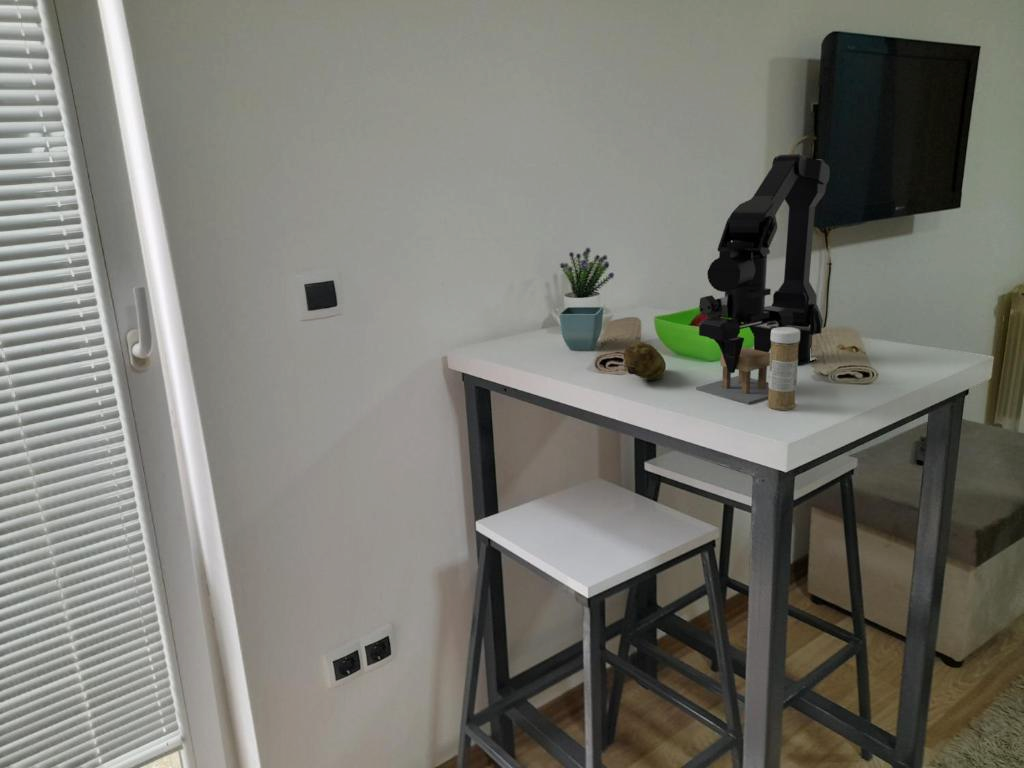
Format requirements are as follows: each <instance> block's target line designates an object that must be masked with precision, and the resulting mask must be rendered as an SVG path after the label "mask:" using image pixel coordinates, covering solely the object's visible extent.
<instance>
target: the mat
mask: <svg viewBox="0 0 1024 768" xmlns="http://www.w3.org/2000/svg"><path fill="white" fill-rule="evenodd" d="M738 379H739V375H736V376H733V377H732V376H731V380H730V388H727V389H726V388H722V380H723V379H721V380H718V381H715V382H710V383H707V384H704V385H703V384H702V385H699V386H696V387H695V390H697V391H699V392H703V391H704V393H707V394H710V393H711V395H714V394H715V395H714V396H717V395H719V397H722V398H724V397H725V399H728V400H732V401H735V402H738V403H742V404H745V405H751V404H755V403H759V402H761V401H764V400H768V395H769V381H766V388H764V389H760V388H758V379H756V378H751V377H750V393H748V394H744V393H742V384H740V383H738Z"/></svg>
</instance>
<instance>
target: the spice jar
mask: <svg viewBox="0 0 1024 768" xmlns="http://www.w3.org/2000/svg"><path fill="white" fill-rule="evenodd" d="M770 340H771V349H770V365H769V372H768V383H769V395H768V399H767V403H766V405H767V407H768V408H769V409H772V410H778V411H790V410H793V409H795V408H796V390H797V383H798V381H797V379H798V367H799V365H798V344H799V341H800V330H799V329H796V328H791V327H778V328H773V329H772V330H771V338H770Z"/></svg>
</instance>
